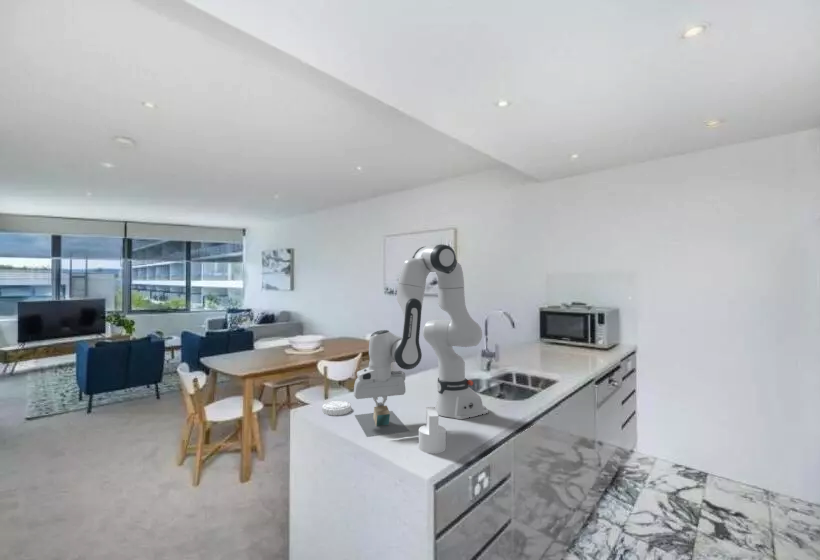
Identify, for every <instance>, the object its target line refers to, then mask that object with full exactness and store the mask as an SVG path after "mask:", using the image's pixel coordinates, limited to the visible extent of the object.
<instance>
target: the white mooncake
mask: <svg viewBox="0 0 820 560" xmlns="http://www.w3.org/2000/svg"><path fill="white" fill-rule="evenodd" d="M321 408H322V409H321V413H323V415H326V416H342V415H345V414H348V413H350V412H351V411H352V404H351V403H350V402H348V401H347V400H346V401H345V400H340V399H339V400H333V401H328V402H325V403H324V404H322V407H321Z"/></svg>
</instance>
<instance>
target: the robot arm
mask: <svg viewBox="0 0 820 560" xmlns="http://www.w3.org/2000/svg"><path fill="white" fill-rule="evenodd" d="M430 273H435V274H436V276H437V301H438V303H437V304H438V307H440V309H441V310H443V311H444V312H445V313H447V314H448V315H449V317H450V319H439V318H437V319H430V320H428V321H426V323H424V326H423V329H422V335H423V338H424V340H425V341H426V343H428V344H429V345H430V346H431V348H432V349H433V351H434V353H435V355H436V358H437V367H438V378H437V398H436V399H437V400H436V404H435V405H436V406H435V409H436V411H437V413H438V416H441V417H445V418H450V419H451V418H452V419H456V420H466V419H469V417H470V418H473V417H478V415H479V416H482V414H483V415H487V414H488V413H489V410H488V407H486V406H484V404H483V401H482V397H481V395H480V394H478V393H477V392H476V391H475V390H473V389H472V388H471V387H469V386H473V385H474V381H473V380H472V379H468V378H466V363H465V360H464V358H463V356H461V355H459V354H458V353H456V352H455V350H454V349H453V347H459V348H460V347H461V348H469V347H470V348H471V347H476V346H478V345H479V344H480V343H481V342H482V338H483V330H482V327H481V326H480V324H478V323H477V322H476V321H475V320H474V319H473V318H472V317H471V314H469V312H468V310H467V306H466V299H465V298H466V297H465V279H464V278H465V277H464V272H463V268H462V265H461V264H460V263H459V262H458V260H457V256H456V253H455V251H454V249H453V248H452V247H451V246H450V245H446V244H442V243H441V244H430V245H427V246H426V245H425V246H421V247H419V248H418V249H416V251H415V252H414V253H413V255H412V257H409V258H407V259H405V260H404V262H403V263H402V265H401V269H400V272H399V276H398V281H397V287H396V288H397V289H396V300H397V302H398V304H399V306H400V308H401V310H402V314H403V327H402V335H401V336H402V337H400V336H398V335H396V334H394V333H392V332H390V331H389V330H387V329H386V330H385V329H382V330H376V331H374V332H373V333H372V334H371V335H370V337H369V342H368V357H369V362H368V366H367V367H364V368H363V369H360V370H358V371H357V372H356V376H357V378H356V379H355V381H354V385H353V396H354V398H355V399H356V400H359V399H360V400H362V399H373V401H374V403H375V407H378V406H385V403H386V402H387V400H388V397H393V396H403V395H405V394H406V392H407V391H406V373H405V372H404V371H402V370H398V371H397V370H396V371H395V370H394V371H393V370H392V363H396V365H397V366H398V368H399V367H400V369H403V370H412V369H414V368H416V367H417V366H418V365H419V364H420V362H421V361H422V355H423V354H422V353H423V352H422V350H421V346H420V333H421V332H420V331H421V322H422V321H421V320H422V310H423V303H424V302H423V301H424V297H425V292H426V291H425V290H426V284H427V278H428V275H430ZM379 398H382V400H381V401H380V402H378V400H379ZM486 413H487V414H486Z"/></svg>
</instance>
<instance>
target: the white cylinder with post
mask: <svg viewBox="0 0 820 560" xmlns="http://www.w3.org/2000/svg"><path fill="white" fill-rule="evenodd" d="M425 408H426V410H425V413H426V414H425V415H426V416H425V420H426V421H425V424H424V425H421V426H420V427H419V428H418V449H419V450H420V451H421V452H422V453H427V454H433V455H435V454H440V453H442V452H444V451H446V448H447V447H446V446H447V445H446V444H447V443H446V440H447V439H446V436H447V435H446V433H447V431H446V428H445V426H442V425H440V424H439V418H440V417H439V416H440V415H438V413H437V411H436V409H435V408H436V406H435V407H434V406H427V407H425ZM434 453H435V454H434Z"/></svg>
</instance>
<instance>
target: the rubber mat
mask: <svg viewBox="0 0 820 560" xmlns="http://www.w3.org/2000/svg"><path fill="white" fill-rule="evenodd" d="M389 412H390V419H389V425H382V426H376V424H375V421H374V418H373V415H374V412H370V413H362V414H354V417H355V419H356V420H357V422H358V424H359V426H360V427H361V429H362V430H363V433H364V435H365V437H367V438H368V437H369V438H370V437H377V436H383V435H391V434H399V433H406V432H410V429H408V427H407V426H406V425H405V424H404V423H403V422H402V421H401V419H400V418H399V417H398V416H397V414H395V412H393V410H389Z"/></svg>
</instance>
